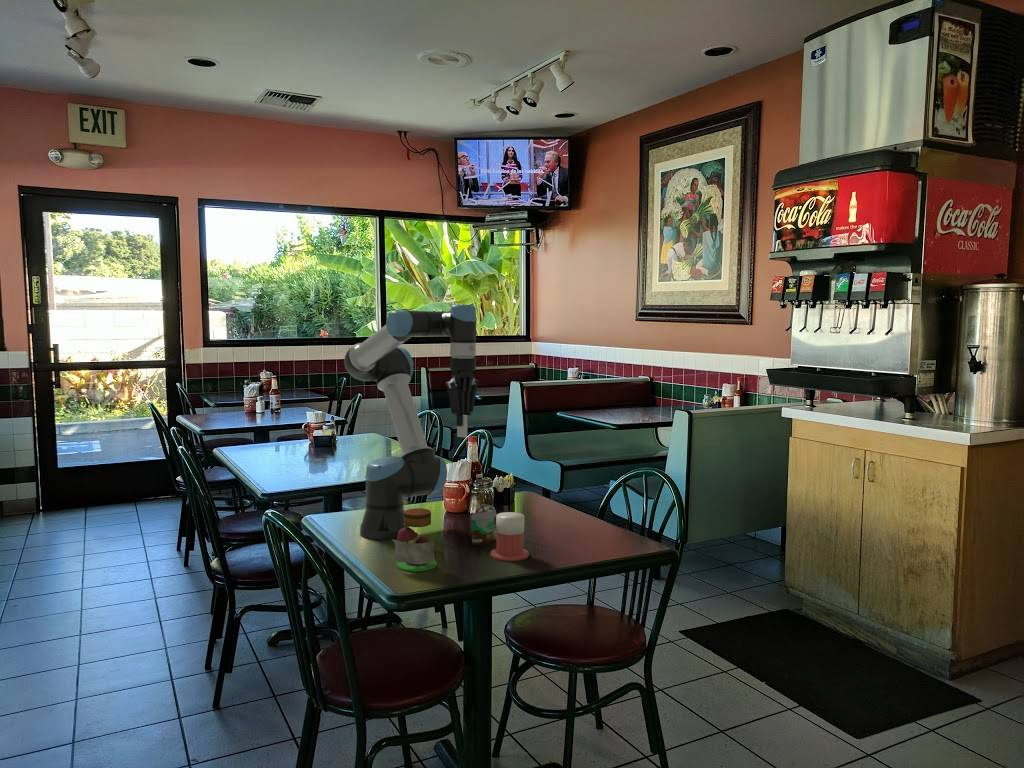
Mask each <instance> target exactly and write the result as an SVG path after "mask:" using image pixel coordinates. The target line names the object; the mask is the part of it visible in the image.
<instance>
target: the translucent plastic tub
mask: <svg viewBox="0 0 1024 768" xmlns="http://www.w3.org/2000/svg"><path fill="white" fill-rule="evenodd" d="M431 524H432V511H431V510H430V509H427V508H420V507H418V508H416V507H415V508H414V507H413V508H408V509H406V510H404V525H405V526H409V528H408V527H407V528H402V529H400V530H399V532H398V537H397V538H396V539H391V541H393V543H394V546H395V547H394V548H395V555H394V556H395V558H394V559H395V561H397V567H398V569H400V570H403V571H407V572H425V571H426V572H427V571H430V570H432V569H434V568H436V567H437V566H438V564H437V561H436V560H435V557H434V556H435V555H434V550H435V542H434V541H430V540H429V538H428V537H427V536H425V535H420V536H419V533H417V532H416V531H415V530H414V529H412V528H425V527H427V526H430V525H431ZM412 541H414V542H413V543H411V542H412Z"/></svg>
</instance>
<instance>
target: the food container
mask: <svg viewBox="0 0 1024 768" xmlns="http://www.w3.org/2000/svg"><path fill="white" fill-rule="evenodd" d="M496 515H497V511H496V509H495V506H494V505H490V504H487V503H486V504H484V503H481V504H480V507H479V508H477V509H476V510H475V512H471V515H470V516H471V518H470V519H471V544H472V546H473V545H474V546H479V545H487V544H491V543H492V542H493V535H494V527H495V526H494V523H495V518H496Z"/></svg>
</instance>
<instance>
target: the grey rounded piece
mask: <svg viewBox="0 0 1024 768" xmlns="http://www.w3.org/2000/svg"><path fill="white" fill-rule="evenodd" d="M495 519H496V520H495V521H496V523H495V532H496V534H497V533H499V534H503V535H518V534H522V533H525V514H523V513H520V512H514V511H512V512H511V511H509V512H508V511H507V512H506V511H505V512H504V511H503V512H499V513H496V516H495Z"/></svg>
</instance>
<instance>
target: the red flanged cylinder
mask: <svg viewBox="0 0 1024 768" xmlns="http://www.w3.org/2000/svg"><path fill="white" fill-rule="evenodd" d="M524 533H525V532H524ZM524 533H522V534H518V535H503V534H499V533H497V532H496V538H495V539H496V543H495V544H496V546H495V547H496V548H493V549H492V550H491V551H490V557H491V558H492V559H494V560H497V561H502V562H518V561H519V562H520V561H524V560H526V559H529V557H530V551H529V550H527V549H525V548H524V540H525V539H524V535H525V534H524Z"/></svg>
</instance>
